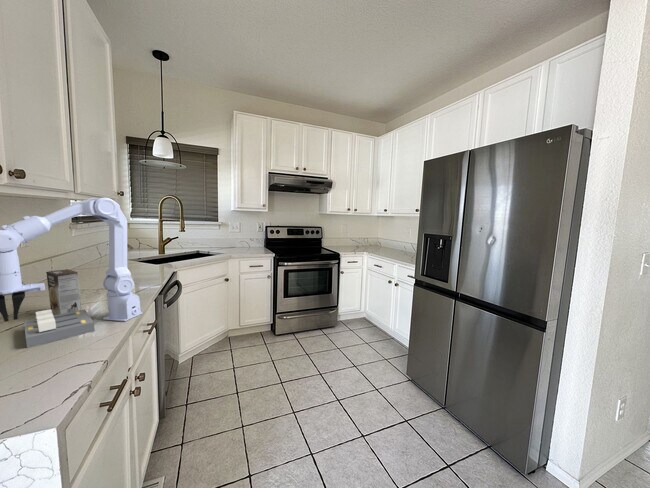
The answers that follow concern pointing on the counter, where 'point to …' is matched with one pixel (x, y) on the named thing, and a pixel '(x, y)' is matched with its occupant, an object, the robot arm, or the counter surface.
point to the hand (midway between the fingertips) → (11, 319)
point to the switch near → (46, 325)
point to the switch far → (43, 313)
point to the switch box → (59, 328)
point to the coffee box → (63, 291)
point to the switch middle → (44, 317)
